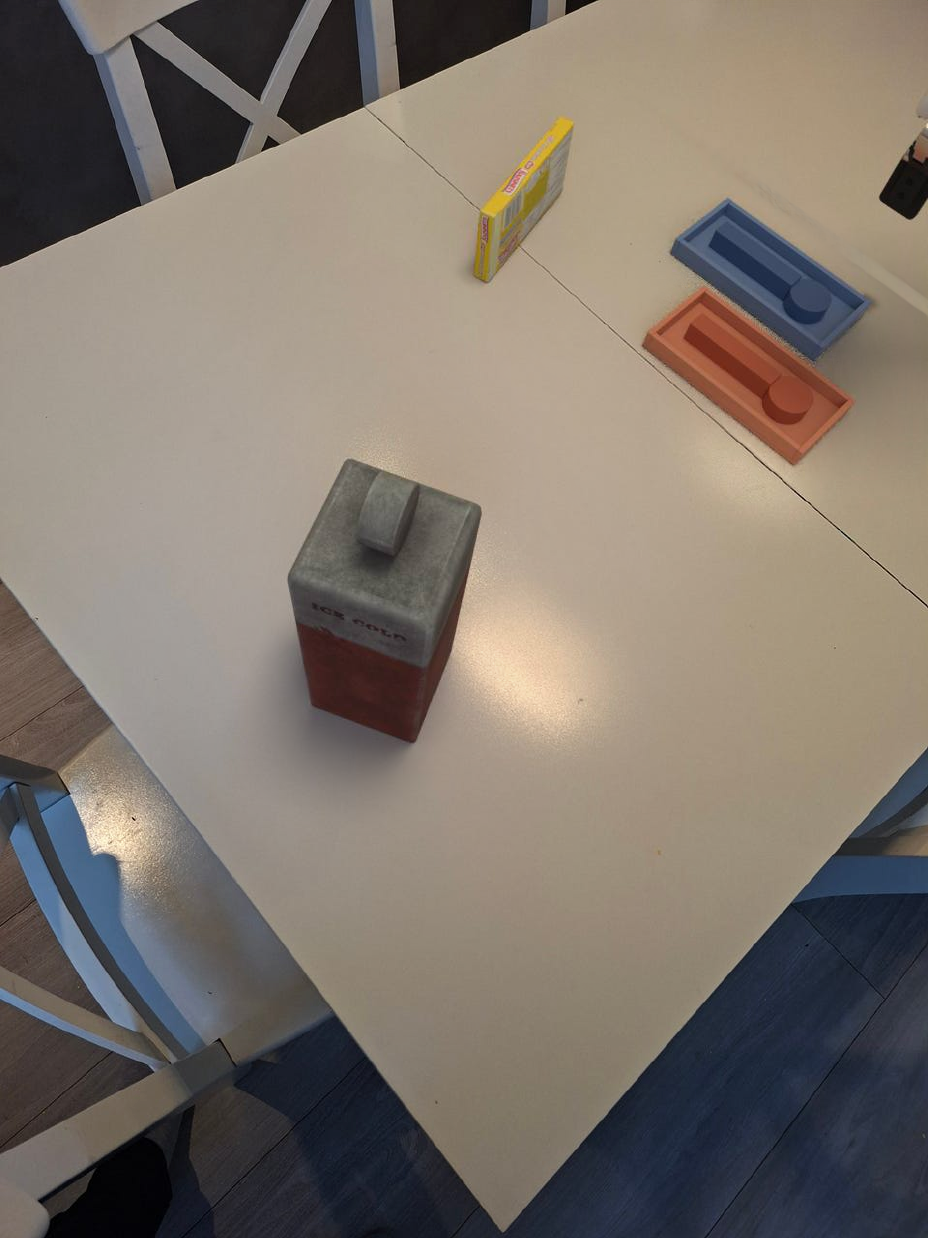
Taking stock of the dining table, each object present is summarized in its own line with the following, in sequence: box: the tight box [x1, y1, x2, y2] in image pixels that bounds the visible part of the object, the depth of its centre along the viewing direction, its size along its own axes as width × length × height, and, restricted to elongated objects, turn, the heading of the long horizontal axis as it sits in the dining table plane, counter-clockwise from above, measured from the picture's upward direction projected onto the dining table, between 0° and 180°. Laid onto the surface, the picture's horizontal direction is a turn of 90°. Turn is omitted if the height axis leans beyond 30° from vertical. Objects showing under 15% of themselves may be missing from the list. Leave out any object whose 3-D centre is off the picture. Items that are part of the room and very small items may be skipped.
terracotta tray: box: [641, 285, 857, 466], centre depth 88 cm, size 19×9×2 cm, turn 46°
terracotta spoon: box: [684, 313, 813, 424], centre depth 87 cm, size 14×4×2 cm, turn 46°
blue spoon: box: [709, 221, 832, 324], centre depth 93 cm, size 14×4×2 cm, turn 46°
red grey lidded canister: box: [287, 458, 483, 744], centre depth 60 cm, size 9×11×28 cm
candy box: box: [473, 116, 575, 283], centre depth 90 cm, size 16×2×8 cm, turn 149°
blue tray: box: [669, 197, 873, 362], centre depth 93 cm, size 19×9×2 cm, turn 46°
